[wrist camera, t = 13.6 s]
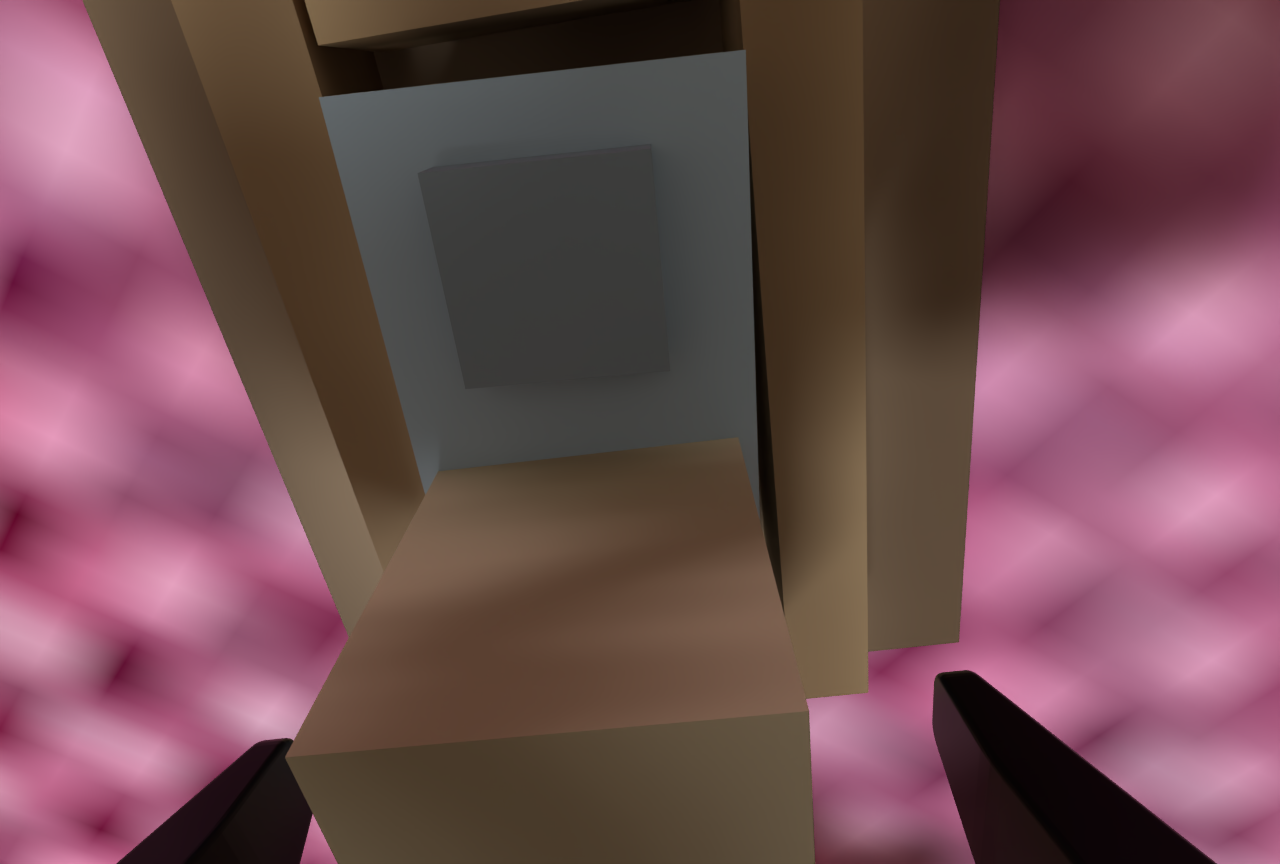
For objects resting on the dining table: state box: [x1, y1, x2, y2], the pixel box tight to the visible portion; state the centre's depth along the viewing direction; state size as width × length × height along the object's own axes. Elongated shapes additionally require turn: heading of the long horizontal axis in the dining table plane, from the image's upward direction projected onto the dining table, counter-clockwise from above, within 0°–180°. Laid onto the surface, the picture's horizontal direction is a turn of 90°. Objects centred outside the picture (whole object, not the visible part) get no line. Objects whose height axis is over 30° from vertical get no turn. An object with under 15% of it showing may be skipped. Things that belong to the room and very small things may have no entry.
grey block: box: [319, 50, 760, 519], centre depth 11 cm, size 4×10×5 cm, turn 6°
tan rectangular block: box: [285, 437, 815, 864], centre depth 9 cm, size 4×6×4 cm
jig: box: [83, 0, 1000, 699], centre depth 13 cm, size 14×16×3 cm
